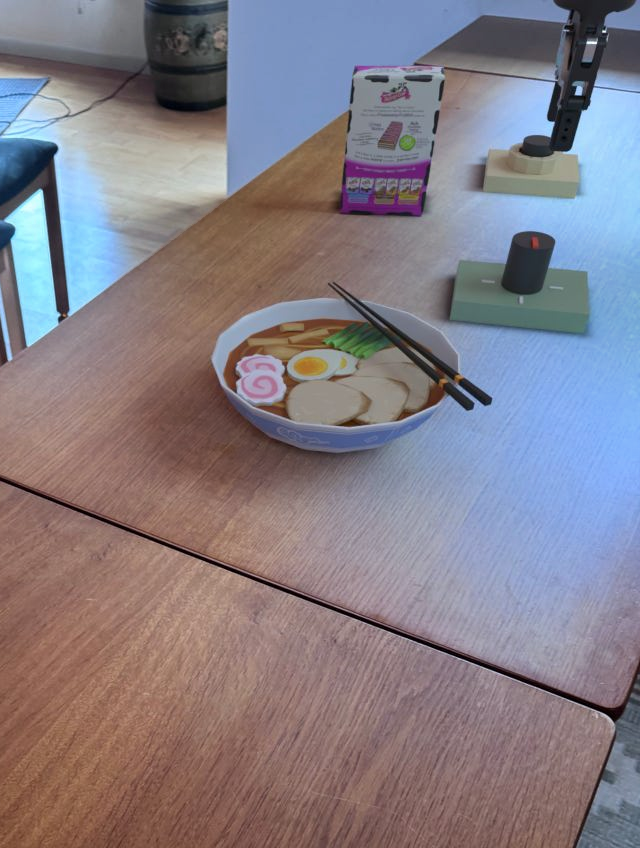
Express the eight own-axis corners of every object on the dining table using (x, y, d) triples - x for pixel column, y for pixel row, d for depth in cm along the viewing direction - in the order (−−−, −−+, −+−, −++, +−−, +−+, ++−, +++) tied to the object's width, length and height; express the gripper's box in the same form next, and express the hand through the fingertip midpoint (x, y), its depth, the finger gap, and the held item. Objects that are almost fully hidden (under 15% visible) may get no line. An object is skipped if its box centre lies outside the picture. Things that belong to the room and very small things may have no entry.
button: (550, 149, 125) (554, 135, 124) (551, 160, 122) (554, 146, 121) (520, 147, 126) (524, 133, 124) (520, 158, 123) (523, 144, 122)
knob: (500, 274, 102) (512, 227, 98) (541, 277, 101) (554, 229, 97) (501, 293, 99) (514, 244, 95) (543, 295, 98) (558, 247, 94)
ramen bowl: (171, 387, 94) (169, 313, 88) (365, 340, 99) (376, 267, 93) (278, 532, 78) (284, 453, 72) (503, 467, 83) (526, 389, 77)
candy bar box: (422, 202, 123) (446, 64, 111) (422, 217, 120) (447, 77, 108) (339, 199, 125) (353, 62, 113) (337, 214, 121) (352, 75, 109)
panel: (579, 296, 104) (587, 269, 102) (581, 340, 98) (590, 312, 95) (454, 284, 107) (459, 258, 105) (447, 326, 101) (453, 298, 98)
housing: (573, 171, 129) (581, 140, 126) (574, 199, 122) (583, 167, 119) (485, 164, 131) (492, 135, 128) (482, 192, 125) (489, 161, 122)
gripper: (562, -73, 89) (520, 110, 100) (568, -40, 79) (520, 158, 91) (645, -73, 87) (591, 114, 99) (661, -38, 78) (600, 163, 90)
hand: (557, 135), depth 95 cm, fingers open, 8 cm apart
